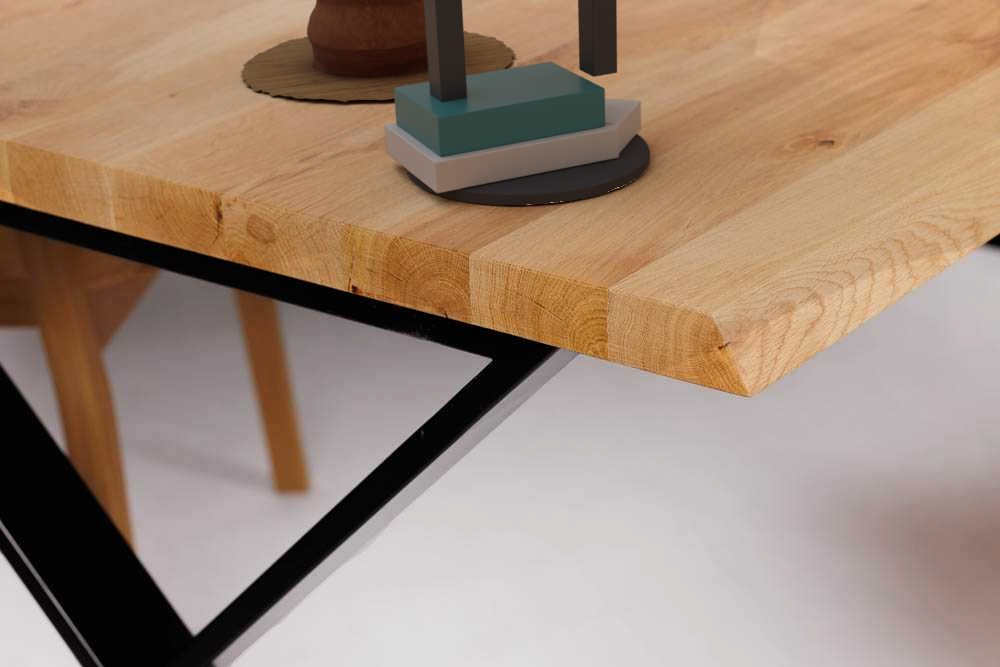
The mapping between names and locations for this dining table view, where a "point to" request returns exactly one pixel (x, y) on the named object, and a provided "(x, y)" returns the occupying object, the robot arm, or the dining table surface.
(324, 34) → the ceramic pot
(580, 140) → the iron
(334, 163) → the dining table surface
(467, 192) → the swivel rest
